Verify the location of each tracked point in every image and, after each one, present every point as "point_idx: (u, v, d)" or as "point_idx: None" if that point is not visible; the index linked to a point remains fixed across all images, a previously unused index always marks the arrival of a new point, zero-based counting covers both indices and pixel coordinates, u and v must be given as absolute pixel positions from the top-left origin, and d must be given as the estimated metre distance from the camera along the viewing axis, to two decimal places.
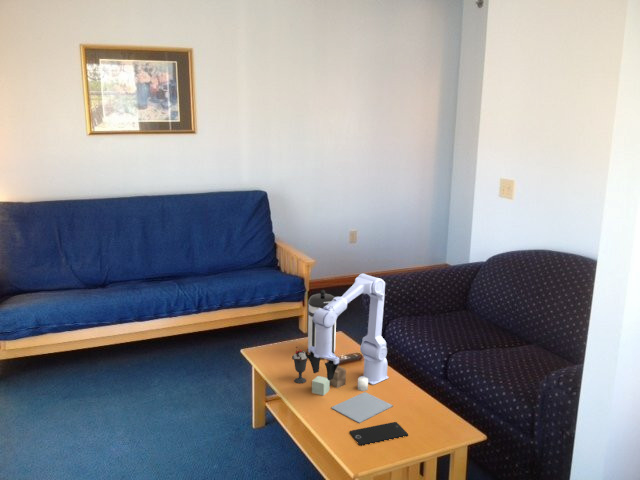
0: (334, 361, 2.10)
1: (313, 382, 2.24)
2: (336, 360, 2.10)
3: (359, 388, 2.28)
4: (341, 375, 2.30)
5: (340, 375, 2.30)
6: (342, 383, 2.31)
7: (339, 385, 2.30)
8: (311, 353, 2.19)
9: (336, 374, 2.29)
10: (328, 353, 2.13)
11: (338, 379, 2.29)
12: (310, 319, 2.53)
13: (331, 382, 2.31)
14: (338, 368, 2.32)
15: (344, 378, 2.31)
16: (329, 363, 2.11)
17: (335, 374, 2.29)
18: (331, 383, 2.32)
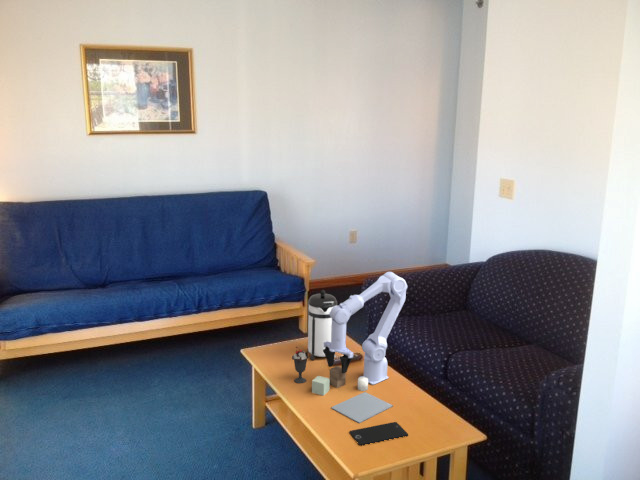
0: (348, 355, 2.24)
1: (313, 382, 2.24)
2: (350, 354, 2.24)
3: (359, 388, 2.28)
4: (341, 374, 2.30)
5: (340, 375, 2.30)
6: (342, 383, 2.31)
7: (339, 385, 2.30)
8: (326, 348, 2.33)
9: (336, 374, 2.29)
10: (343, 348, 2.27)
11: (338, 379, 2.29)
12: (310, 319, 2.53)
13: (331, 382, 2.31)
14: (338, 368, 2.32)
15: (344, 378, 2.31)
16: (344, 357, 2.25)
17: (335, 374, 2.29)
18: (331, 383, 2.32)
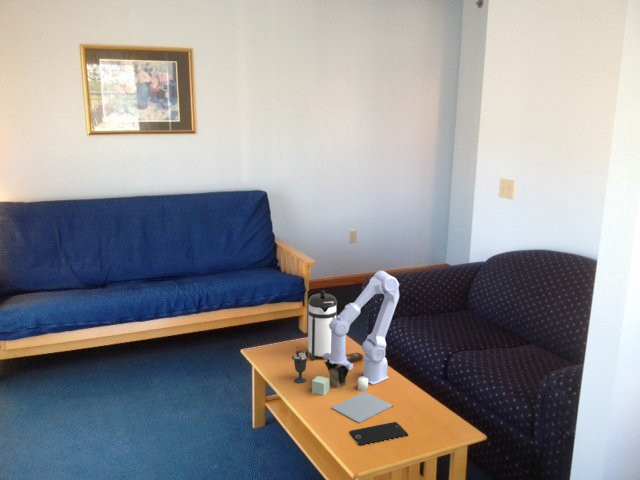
0: (348, 367, 2.25)
1: (313, 382, 2.24)
2: (350, 366, 2.25)
3: (359, 388, 2.28)
4: None
5: None
6: (342, 383, 2.31)
7: (339, 385, 2.30)
8: None
9: (336, 374, 2.29)
10: (342, 359, 2.28)
11: (338, 379, 2.29)
12: (310, 319, 2.53)
13: (331, 382, 2.31)
14: None
15: None
16: (343, 369, 2.26)
17: (335, 374, 2.29)
18: (331, 383, 2.32)
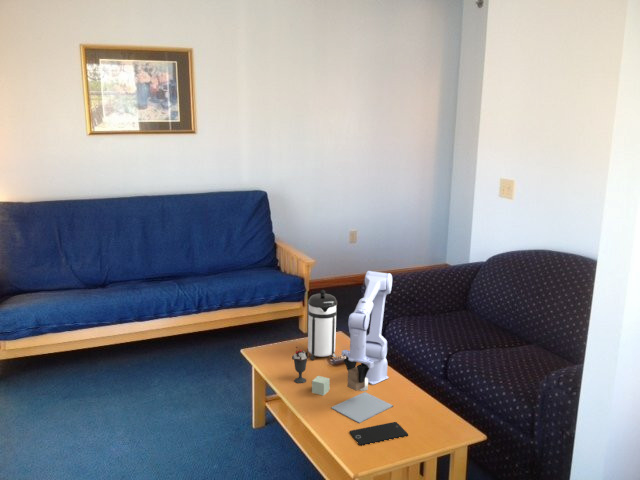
0: (369, 365, 2.10)
1: (313, 382, 2.24)
2: (371, 364, 2.10)
3: None
4: None
5: None
6: (361, 385, 2.16)
7: (358, 387, 2.15)
8: None
9: (355, 376, 2.14)
10: (362, 357, 2.13)
11: (357, 381, 2.14)
12: (310, 319, 2.53)
13: (350, 385, 2.16)
14: (357, 369, 2.17)
15: None
16: (364, 367, 2.11)
17: (354, 376, 2.14)
18: (349, 385, 2.17)
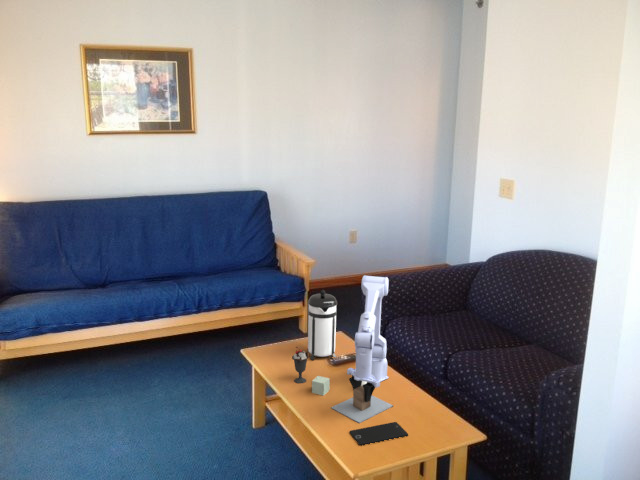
0: (375, 384, 2.07)
1: (313, 382, 2.24)
2: (377, 383, 2.07)
3: None
4: None
5: None
6: (367, 405, 2.13)
7: (364, 407, 2.12)
8: None
9: (361, 395, 2.11)
10: (368, 376, 2.10)
11: (363, 401, 2.11)
12: (310, 319, 2.53)
13: (355, 404, 2.14)
14: (362, 388, 2.14)
15: None
16: (370, 386, 2.08)
17: (360, 395, 2.11)
18: (355, 405, 2.14)
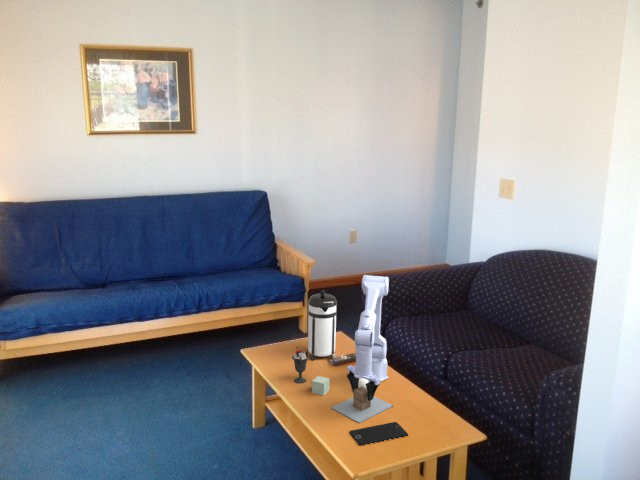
0: (375, 382, 2.07)
1: (313, 382, 2.24)
2: (377, 381, 2.07)
3: None
4: (366, 396, 2.12)
5: (365, 396, 2.12)
6: (367, 405, 2.13)
7: (364, 407, 2.12)
8: (350, 373, 2.16)
9: (361, 396, 2.11)
10: (368, 373, 2.10)
11: (363, 401, 2.11)
12: (310, 319, 2.53)
13: (355, 404, 2.14)
14: (363, 389, 2.14)
15: None
16: (370, 384, 2.08)
17: (360, 396, 2.11)
18: (355, 405, 2.14)
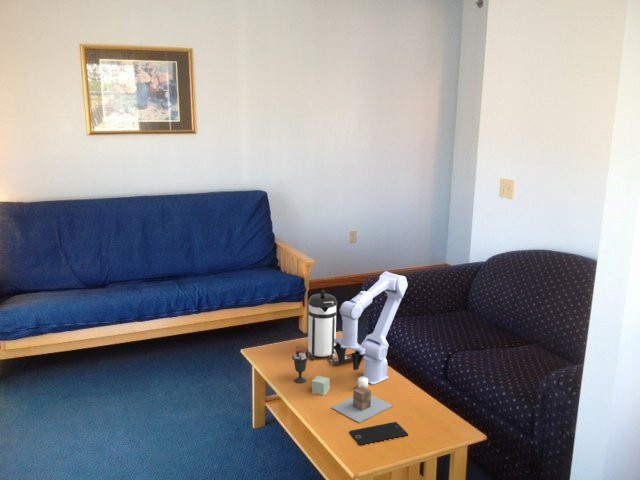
0: (360, 351, 2.19)
1: (313, 382, 2.24)
2: (362, 351, 2.19)
3: None
4: (366, 396, 2.12)
5: (365, 396, 2.12)
6: (367, 405, 2.13)
7: (364, 407, 2.12)
8: (337, 344, 2.28)
9: (361, 396, 2.11)
10: (354, 344, 2.22)
11: (363, 401, 2.11)
12: (310, 319, 2.53)
13: (355, 404, 2.14)
14: (363, 389, 2.14)
15: (369, 400, 2.14)
16: (355, 353, 2.20)
17: (360, 396, 2.11)
18: (355, 405, 2.14)
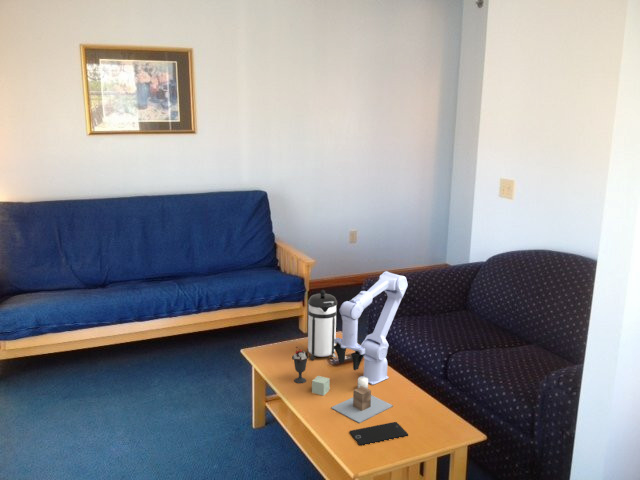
0: (360, 351, 2.19)
1: (313, 382, 2.24)
2: (362, 351, 2.19)
3: None
4: (366, 396, 2.12)
5: (365, 396, 2.12)
6: (367, 405, 2.13)
7: (364, 407, 2.12)
8: (337, 344, 2.28)
9: (361, 396, 2.11)
10: (354, 344, 2.22)
11: (363, 401, 2.11)
12: (310, 319, 2.53)
13: (355, 404, 2.14)
14: (363, 389, 2.14)
15: (369, 400, 2.14)
16: (355, 353, 2.20)
17: (360, 396, 2.11)
18: (355, 405, 2.14)
